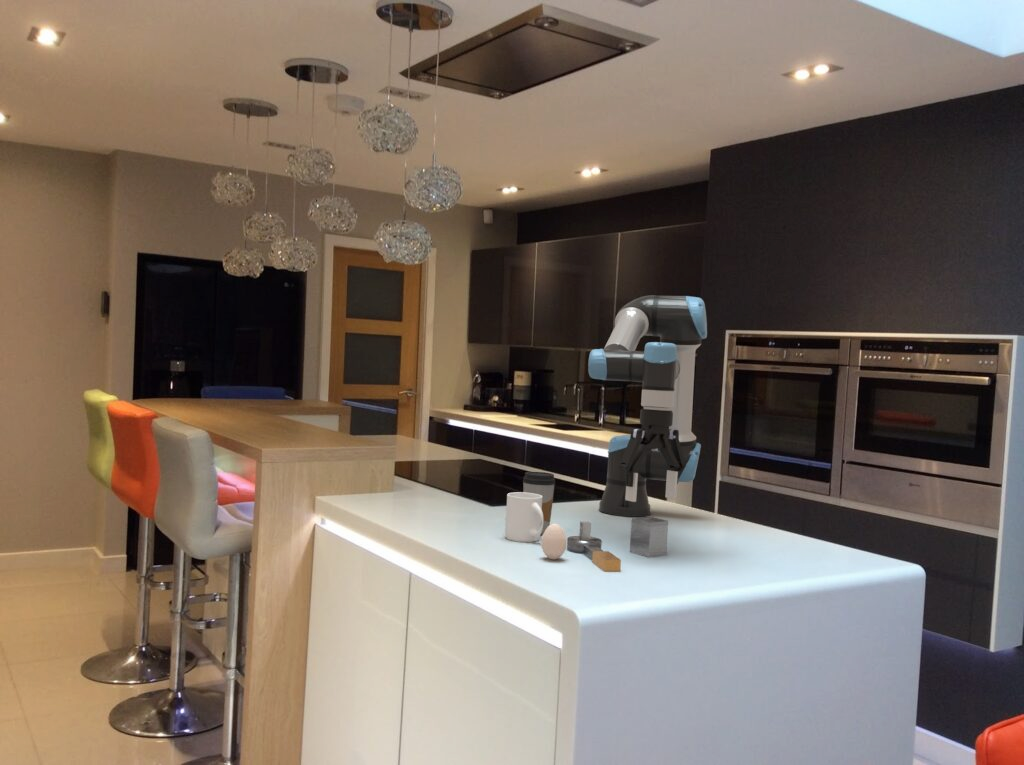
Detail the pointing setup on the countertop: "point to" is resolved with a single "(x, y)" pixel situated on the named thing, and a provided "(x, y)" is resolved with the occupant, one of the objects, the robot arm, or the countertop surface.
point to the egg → (554, 541)
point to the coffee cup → (541, 492)
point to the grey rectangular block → (648, 536)
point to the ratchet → (592, 549)
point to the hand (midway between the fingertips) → (651, 499)
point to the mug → (524, 517)
